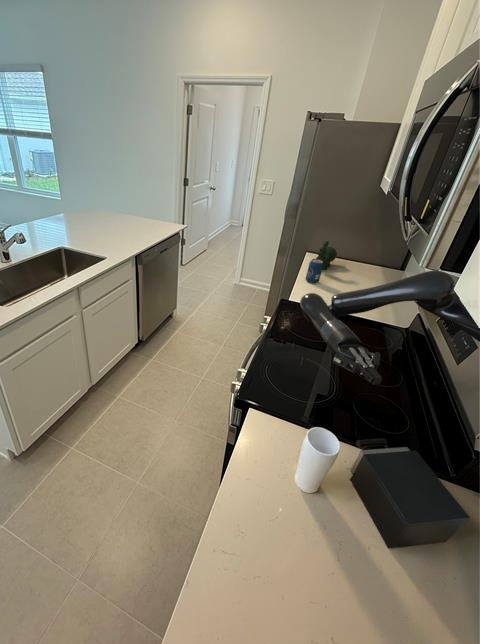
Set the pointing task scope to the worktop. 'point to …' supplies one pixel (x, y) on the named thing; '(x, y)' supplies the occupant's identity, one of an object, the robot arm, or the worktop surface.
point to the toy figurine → (326, 255)
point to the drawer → (370, 444)
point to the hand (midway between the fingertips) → (377, 382)
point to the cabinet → (406, 499)
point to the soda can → (314, 271)
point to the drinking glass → (316, 458)
